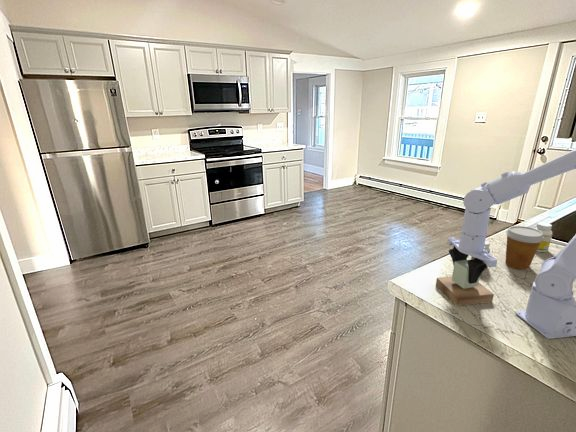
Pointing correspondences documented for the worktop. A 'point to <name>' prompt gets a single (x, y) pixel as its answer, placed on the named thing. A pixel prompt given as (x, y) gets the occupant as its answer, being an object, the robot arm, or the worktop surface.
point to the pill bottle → (485, 248)
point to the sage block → (462, 274)
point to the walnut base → (464, 292)
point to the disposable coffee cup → (522, 246)
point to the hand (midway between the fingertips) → (465, 278)
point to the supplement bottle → (547, 235)
